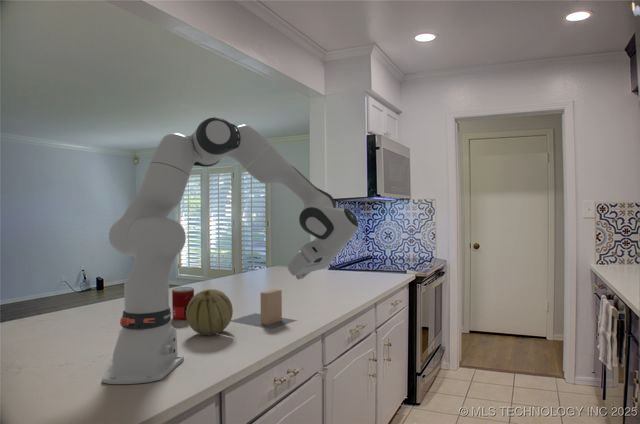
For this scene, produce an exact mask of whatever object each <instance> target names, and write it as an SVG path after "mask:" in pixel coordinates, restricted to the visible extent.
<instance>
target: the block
mask: <svg viewBox="0 0 640 424" xmlns="http://www.w3.org/2000/svg"><path fill="white" fill-rule="evenodd" d="M282 295H283V294H282V289H279V288H278V289H277V288H275V289H269V290H266V291H263V292H262V291H261V292H260V314H261V324H264V325H269V324H272V323H275V322H278V321H281V320H282V318H283V317H282V315H283V309H282V308H283V305H282V303H283V301H282V300H283V299H282V297H283V296H282Z"/></svg>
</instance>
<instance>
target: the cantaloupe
mask: <svg viewBox="0 0 640 424" xmlns="http://www.w3.org/2000/svg"><path fill="white" fill-rule="evenodd" d="M233 309H234V308H233V303H232V302H231V300H230V299H229V296H228V295H226V293H225V292H223V291H221V290H218V289H205V290H201V291H199V292H198V293H195V294H194V297H193V298H192V299H191V300H190V302H189V304H188V306H187V309H186V318H187V324H188V326H189V327H190V328H191V329H192V330H193V331H194V332H195V333H196V334H199V335H201V336H213V335H217V334H219V333H221V332H223V331H224V330H225V329H227V327H228V326H229V325H230V324H231V320H233V319H232V318H233V314H234V313H233V312H234V310H233Z"/></svg>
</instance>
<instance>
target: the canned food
mask: <svg viewBox="0 0 640 424" xmlns="http://www.w3.org/2000/svg"><path fill="white" fill-rule="evenodd" d="M171 293H172V294H171V295H172V296H171V298H172V299H171V301H172V302H171V306H172V308H171V309H172V312H171V313H172V319H174V320H175V321H176V320H177V321H186V320H187V318H186V309H187V306H188V304H189V302H190V300H191V299H192V298H193V297H194V296H195V288H194V287H192V286H191V287H190V286H180V287H179V286H178V287H174V288H172V290H171Z"/></svg>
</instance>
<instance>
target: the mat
mask: <svg viewBox="0 0 640 424" xmlns="http://www.w3.org/2000/svg"><path fill="white" fill-rule="evenodd" d="M296 321H297V320H296V319H291V318H287V317H282V320H281V321H278V322H275V323H272V324H269V325H264V324H261V313H257V312H254V313H251V314H247V315H245V316H242V317H238V318H234V319H231V321H230V323H238V324H243V325H246V326H247V325H249V326H253V327H258V328H263V329H270V330H274V329H276V328H279V327H282V326H285V325H287V324H290V323H294V322H296Z"/></svg>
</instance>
